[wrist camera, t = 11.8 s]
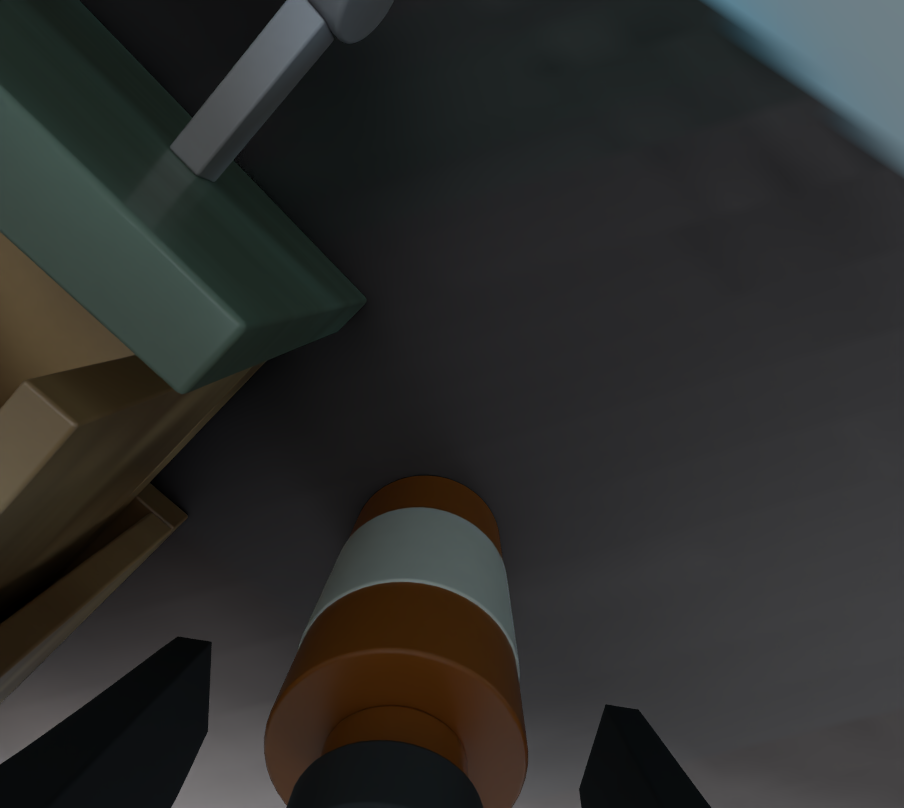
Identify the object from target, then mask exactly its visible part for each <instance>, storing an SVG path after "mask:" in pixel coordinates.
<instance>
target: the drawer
mask: <svg viewBox="0 0 904 808" xmlns="http://www.w3.org/2000/svg"><path fill="white" fill-rule="evenodd" d="M393 2H394V0H286V2H285V3H284V4H283V5H282V7H281V8H280V9H279V10H278V12H277V13H276V14H275V15H274V17H273V18H272V19H271V20H270V22H269V23H268V24H267V25H266V27H265V28H264V29H263V30H262V32H261V33H260V34H259V35H258V37H257V38H256V39H255V40H254V42H253V43H252V44H251V45H250V47H249V48H248V49H247V50H246V52H245V53H244V54H243V55H242V57H241V58H240V59H239V60H238V62H237V63H236V64H235V65H234V67H233V68H232V69H231V70H230V72H229V73H228V74H227V75H226V77H225V78H224V79H223V80H222V82H221V83H220V84H219V85H218V87H217V88H216V89H215V90H214V92H213V93H212V94H211V95H210V97H209V98H208V99H207V100H206V102H205V103H204V104H203V105H202V107H201V108H200V109H199V110H198V112H197V113H196V114H195V115H194V117H193V118H192V117H191V116H190V115H189V114H188V113H187V112H186V111H185V110H184V109H183V108H182V106H181V105H180V104H179V103H178V102H177V101H176V100H175V99H174V98H173V97H172V96H171V95H170V94H169V93H168V92H167V91H166V90H165V89H164V88H163V87H162V86H161V85H160V84H159V83H158V82H157V81H156V80H155V78H154V77H153V76H152V75H151V74H150V73H149V72H148V71H147V70H146V69H145V68H144V67H143V66H142V65H141V64H140V63H139V62H138V61H137V60H136V59H135V58H134V57H133V56H132V55H131V54H130V53H129V52H128V50H127V49H126V48H125V47H124V46H123V45H122V44H121V43H120V42H119V41H118V40H117V39H116V38H115V37H114V36H113V35H112V34H111V33H110V32H109V31H108V30H107V29H106V28H105V27H104V26H103V25H102V23H101V22H100V21H99V20H98V19H97V18H96V17H95V16H94V15H93V14H92V13H91V12H90V11H89V10H88V9H87V8H86V7H85V6H84V5H83V4H82V3H81V2H80V1H79V0H0V623H1V622H2V621H4V620H5V619H6V618H8V617H9V616H11V615H12V614H13V613H15V612H16V611H17V610H19V609H20V608H21V607H23V606H24V605H25V604H26V603H27V602H29V601H31V600H32V599H34V598H35V597H36V596H38V595H39V594H40V593H42V592H43V591H44V590H46V589H47V588H48V587H50V586H51V585H52V584H53V583H54V582H55V581H56V580H57V579H58V577H59V576H60V575H61V574H62V573H63V572H64V571H65V570H66V569H67V568H68V567H69V566H70V565H71V564H72V563H73V562H74V561H75V560H76V559H77V558H78V557H79V556H80V555H81V554H82V552H83V551H84V550H85V549H86V548H87V547H88V546H89V545H90V544H91V543H92V542H93V541H94V540H95V539H96V538H97V537H98V536H99V535H100V534H101V533H102V532H103V531H104V530H105V529H106V527H107V526H108V525H109V524H110V523H111V522H112V521H113V520H114V519H115V518H116V517H117V516H118V515H119V514H120V513H121V512H122V511H123V510H124V509H125V508H126V507H127V506H128V505H129V504H130V502H131V501H132V500H133V499H134V498H135V497H136V496H137V495H138V494H139V493H140V492H141V491H142V490H143V489H144V488H145V487H146V486H147V485H148V484H149V483H150V482H151V481H152V480H153V479H154V477H155V476H156V475H157V474H158V473H159V472H160V471H161V470H162V469H163V468H164V467H165V466H166V465H167V464H168V463H169V462H170V461H171V460H172V459H173V458H174V457H175V456H176V455H177V454H178V452H179V451H180V450H181V449H182V448H183V447H184V446H185V445H186V444H187V443H188V442H189V441H190V440H191V439H192V438H193V437H194V436H195V435H196V434H197V433H198V432H199V431H200V430H201V429H202V427H203V426H204V425H205V424H206V423H207V422H208V421H209V420H210V419H211V418H212V417H213V416H214V415H215V414H216V413H217V412H218V411H219V410H220V409H221V408H222V407H223V406H224V405H225V404H226V403H227V401H228V400H229V399H230V398H231V397H232V396H233V395H234V394H235V393H236V392H237V391H238V390H239V389H240V388H241V387H242V386H243V385H244V384H245V383H246V382H247V381H248V380H249V379H250V378H251V376H252V375H253V374H254V373H255V372H256V371H257V370H258V369H259V368H260V367H261V366H262V365H263V364H264V363H265V362H266V361H267V360H269V359H272V358H274V357H277V356H279V355H282V354H284V353H287V352H289V351H291V350H294V349H296V348H299V347H301V346H304V345H306V344H309V343H311V342H313V341H316V340H318V339H321V338H323V337H326V336H328V335H331V334H333V333H335V332H338V331H339V330H340V329H341V328H342V327H343V326H344V325H345V324H346V323H347V322H348V321H349V320H350V319H351V318H352V317H353V316H354V315H355V314H356V313H357V312H358V311H359V309H360V308H361V307H362V306H363V305H364V304H365V303H366V301H367V300H366V297H365V296H364V295H363V294H362V293H361V292H360V291H359V290H358V289H357V288H356V287H355V286H354V285H353V284H352V283H351V282H350V281H349V280H348V279H347V278H346V277H345V276H344V275H343V274H342V272H341V271H340V270H339V269H338V268H337V267H336V266H335V265H334V264H333V263H332V262H331V261H330V260H329V259H328V258H327V257H326V256H325V255H324V254H323V253H322V252H321V251H320V250H319V249H318V248H317V247H316V245H315V244H314V243H313V242H312V241H311V240H310V239H309V238H308V237H307V236H306V235H305V234H304V233H303V232H302V231H301V230H300V229H299V228H298V227H297V226H296V225H295V224H294V223H293V222H292V221H291V220H290V219H289V217H288V216H287V215H286V214H285V213H284V212H283V211H282V210H281V209H280V208H279V207H278V206H277V205H276V204H275V203H274V202H273V201H272V200H271V199H270V198H269V197H268V196H267V195H266V194H265V193H264V192H263V191H262V189H261V188H260V187H259V186H258V185H257V184H256V183H255V182H254V181H253V180H252V179H251V178H250V177H249V176H248V175H247V174H246V173H245V172H244V171H243V170H242V169H241V168H240V167H239V166H238V165H237V164H236V163H235V161H234V159H235V157H236V156H237V155H238V154H239V153H240V151H241V150H242V149H243V148H244V147H245V146H246V144H247V143H248V142H249V141H250V140H251V138H252V137H253V136H254V135H255V134H256V132H257V131H258V130H259V129H260V128H261V126H262V125H263V124H264V123H265V122H266V121H267V119H268V118H269V117H270V116H271V115H272V113H273V112H274V111H275V110H276V109H277V107H278V106H279V105H280V104H281V103H282V101H283V100H284V99H285V98H286V97H287V96H288V94H289V93H290V92H291V91H292V90H293V88H294V87H295V86H296V85H297V84H298V82H299V81H300V80H301V79H302V78H303V76H304V75H305V74H306V73H307V72H308V70H309V69H310V68H311V67H312V66H313V65H314V63H315V62H316V61H317V60H318V59H319V57H320V56H321V55H322V54H323V53H324V51H325V50H326V49H327V48H328V47H329V45H330V44H331V43H332V42H333V40H334V37H333V35H332V33H333V34H334V35H335V36H336V37H337V39H338V40H340V41H342V42H344V43H346V44H354V43H357V42H359V41H361V40H362V39H364V38H365V37H367V36H368V35H369V34H370V33H371V32H372V31H373V30H374V29H375V28H376V27H377V26H378V25H379V24H380V22H381V21H382V20H383V18H384V17H385V16H386V14H387V12H388V11H389V9H390V7H391V6H392V4H393ZM329 29H330V30H329ZM331 32H332V33H331Z"/></svg>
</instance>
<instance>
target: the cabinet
mask: <svg viewBox="0 0 904 808" xmlns="http://www.w3.org/2000/svg"><path fill="white" fill-rule="evenodd" d="M187 517H188V515H187V514H186V513H184V512H183V511H182V510H181V509H180V508H179V507H177V506H176V505H175V504H174V503H173V502H172V501H170V500H169V499H168V498H167V497H166V496H165V495H164V494H162V493H161V492H160V491H159V490H158V489H157V488H155V487H154V486H153V485H152V484H151V483H149V484H148V485H147V486H146V487H145V488H144V489H143V490H142V491H141V492H140V493H139V494H138V495H137V496H136V497H135V498H134V499H133V500H132V501H131V502H130V504H129V505H128V506H127V507H126V508H125V509H124V510H123V511H122V512H121V513H120V514H119V515H118V516H117V517H116V518H115V519H114V520H113V521H112V522H111V523H110V524H109V525H108V526H107V527H106V529H105V530H104V531H103V532H102V533H101V534H100V535H99V536H98V537H97V538H96V539H95V540H94V541H93V542H92V543H91V544H90V545H89V546H88V547H87V548H86V549H85V550H84V551H83V552H82V554H81V555H80V556H79V557H78V558H77V559H76V560H75V561H74V562H73V563H72V564H71V565H70V566H69V567H68V568H67V569H66V570H65V571H64V572H63V573H62V574H61V575H60V576H59V577H58V579H57V580H56V581H55V582H54V583H53V584H52V585H51V586H50V587H48V588H47V589H46V590H44V591H43V592H42V593H40V594H39V595H38V596H36V597H35V598H34V599H32V600H31V601H29V602H27V603H26V604H25V605H24V606H23V607H21V608H20V609H19V610H17V611H16V612H15V613H13V614H12V615H11V616H9V617H8V618H6V619H5V620H4V621H2V622H1V623H0V704H1V703H2V702H3V701H4V700H5V699H6V698H7V697H8V696H9V695H10V694H11V693H12V692H13V691H14V690H15V689H16V688H17V687H18V686H19V685H20V684H21V683H22V682H23V681H24V680H25V679H26V678H27V677H28V676H29V675H30V674H31V673H32V672H33V671H34V670H35V669H36V668H37V667H38V666H39V665H40V664H41V663H42V662H43V661H44V660H45V659H46V658H47V657H48V656H49V655H50V654H51V653H52V652H53V651H54V650H55V649H56V648H57V647H58V646H59V645H60V644H61V643H62V642H63V641H64V640H65V639H66V638H67V637H68V636H69V635H70V634H71V633H72V632H73V631H74V630H75V629H76V628H77V627H78V626H79V625H80V624H81V623H82V622H83V621H84V620H85V619H86V618H87V617H88V616H89V615H90V614H91V613H92V612H93V611H94V610H95V609H96V608H97V607H98V606H99V605H100V604H101V603H102V602H103V601H104V600H105V599H106V598H107V597H108V596H109V595H110V594H111V593H112V592H113V591H115V590H116V589H117V588H118V587H119V586H120V585H121V584H122V583H123V582H124V581H125V580H126V579H127V578H128V577H129V576H130V575H131V574H132V573H133V572H134V571H135V570H136V569H137V568H138V567H139V566H140V565H141V564H142V563H143V562H144V561H145V560H146V559H147V558H148V557H149V556H150V555H151V554H152V553H153V552H154V551H155V550H156V549H157V548H158V547H159V546H160V545H161V544H162V543H163V542H164V541H165V540H166V539H167V538H168V537H169V536H170V535H171V534H172V533H173V532H174V531H175V530H176V529H177V528H178V527H179V526H180V525H181V524H182V523H183V522H184V521H185V520H186V519H187Z"/></svg>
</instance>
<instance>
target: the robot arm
mask: <svg viewBox="0 0 904 808" xmlns="http://www.w3.org/2000/svg"><path fill="white" fill-rule="evenodd" d="M211 646H212V642H209V641H203V640H196V639H190V638H184V637H177V638H175V639H174V640H172V641H171V642H169V643H168V644H167V645H165V646H164V647H163V648H161V649H160V650H158V651H157V652H156V653H154V654H153V655H152V656H150V657H149V658H148V659H146V660H145V661H144V662H142V663H141V664H140V665H138V666H137V667H136V668H134V669H133V670H132V671H130V672H129V673H128V674H126V675H125V676H124V677H122V678H121V679H120V680H118V681H117V682H115V683H114V684H113V685H111V686H110V687H109V688H107V689H106V690H105V691H103V692H102V693H101V694H99V695H98V696H97V697H95V698H94V699H92V700H91V701H90V702H88V703H87V704H86V705H84V706H83V707H81V708H80V709H79V710H77V711H76V712H74V713H73V714H72V715H70V716H69V717H67V718H66V719H65V720H63V721H62V722H60V723H59V724H58V725H56V726H55V727H54V728H52V729H51V730H49V731H48V732H47V733H45V734H44V735H42V736H41V737H40V738H38V739H37V740H35V741H34V742H32V743H31V744H30V745H28V746H27V747H25V748H24V749H22V750H21V751H20V752H18V753H17V754H15V755H14V756H12V757H11V758H9V759H8V760H6V761H5V762H3V763H2V764H0V808H171V806H172V805H173V803H174V801H175V800H176V797H177V795H178V793H179V791H180V789H181V787H182V785H183V783H184V781H185V779H186V777H187V775H188V773H189V771H190V768H191V766H192V764H193V762H194V760H195V758H196V756H197V753H198V751H199V749H200V747H201V745H202V742H203V740H204V738H205V736H206V734H207V732H208V713H209V691H210V668H211ZM579 791H580V799H581V807H582V808H711V807H710V806H709V804H708V803H707V802H706V800H705V799H704V798H703V796H702V795H701V794H700V792H699V791H698V789H697V788H696V787H695V785H694V784H693V783H692V781H691V780H690V779H689V777H688V776H687V775H686V773H685V772H684V771H683V769H682V768H681V767H680V765H679V764H678V762H677V761H676V760H675V758H674V757H673V756H672V754H671V753H670V751H669V750H668V749H667V747H666V746H665V745H664V743H663V742H662V741H661V739H660V738H659V736H658V735H657V734H656V732H655V731H654V730H653V728H652V727H651V726H650V724H649V723H648V722H647V720H646V719H645V718H644V716H643V715H642V714H641V712H640V711H639V710H637V709H631V708H624V707H618V706H612V705H605V708H604V711H603V714H602V718H601V721H600V724H599V727H598V731H597V734H596V737H595V740H594V743H593V747H592V750H591V753H590V756H589V759H588V763H587V766H586V769H585V772H584V775H583V779H582V782H581V785H580V788H579Z"/></svg>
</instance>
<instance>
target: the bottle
mask: <svg viewBox="0 0 904 808" xmlns="http://www.w3.org/2000/svg"><path fill="white" fill-rule="evenodd" d="M519 682H520V667H519V660H518V653H517V646H516V639H515V631H514V624H513V617H512V610H511V603H510V596H509V589H508V582H507V575H506V570H505V566H504V563H503V559H502V551H501V544H500V537H499V530H498V527H497V523H496V520H495V518H494V516H493V514H492V512H491V511H490V509H489V508H488V506H487V505H486V504H485V502H484V501H483V500H482V499H481V498H480V497H479V496H478V495H477V494H476V493H474V492H473V491H472V490H470V489H469V488H467V487H466V486H464V485H462V484H460V483H458V482H455V481H453V480H450V479H447V478H442V477H438V476H413V477H407V478H404V479H400V480H397V481H395V482H392V483H390V484H388V485H387V486H385V487H383V488H382V489H380V490H379V491H378V492H376V493H375V494H374V495H373V496H372V497H371V498H370V499H369V500H368V502H367V503H366V504H365V506H364V507H363V509H362V511H361V512H360V514H359V516H358V519H357V521H356V523H355V525H354V528H353V530H352V532H351V534H350V536H349V539H348V540H347V542H346V543H345V545H344V546H343V548H342V550H341V552H340V554H339V556H338V558H337V560H336V563H335V565H334V567H333V569H332V571H331V574H330V576H329V578H328V580H327V582H326V584H325V587H324V589H323V591H322V593H321V595H320V598H319V600H318V602H317V604H316V606H315V608H314V611H313V613H312V615H311V617H310V619H309V622H308V624H307V626H306V628H305V630H304V632H303V635H302V638H301V640H300V643H299V646H298V652H297V654H296V656H295V659H294V661H293V663H292V665H291V668H290V670H289V672H288V674H287V676H286V679H285V681H284V683H283V685H282V688H281V690H280V692H279V694H278V696H277V699H276V701H275V703H274V705H273V708H272V710H271V712H270V715H269V718H268V721H267V724H266V730H265V736H264V754H265V760H266V766H267V770H268V773H269V776H270V779H271V781H272V783H273V785H274V787H275V789H276V791H277V793H278V794H279V796H280V797H281V798H282V800H283V801H284V803H285V804H286V805H287V807H286V808H512V806H513V805H514V803H515V802H516V800H517V798H518V796H519V794H520V792H521V789H522V787H523V784H524V781H525V778H526V772H527V767H528V746H527V739H526V731H525V724H524V716H523V709H522V701H521V694H520V686H519Z"/></svg>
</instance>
